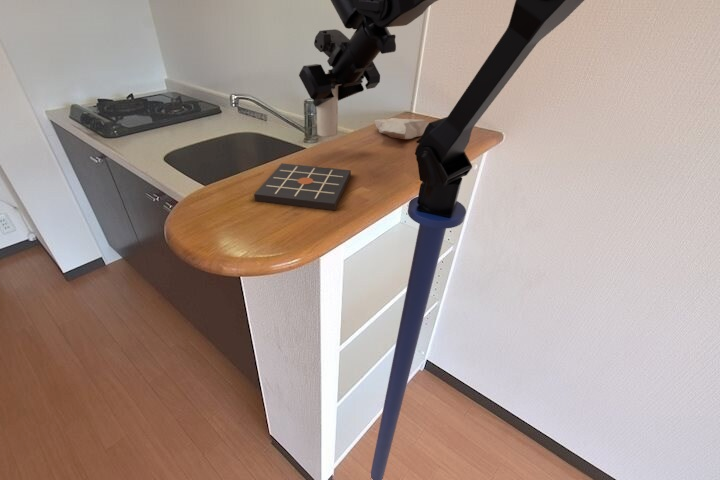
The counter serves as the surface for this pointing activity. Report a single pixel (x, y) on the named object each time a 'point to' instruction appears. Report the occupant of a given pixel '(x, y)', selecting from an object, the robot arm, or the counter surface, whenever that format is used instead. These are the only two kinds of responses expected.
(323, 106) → the white rounded cylinder
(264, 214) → the counter surface
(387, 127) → the rock
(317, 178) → the game board
